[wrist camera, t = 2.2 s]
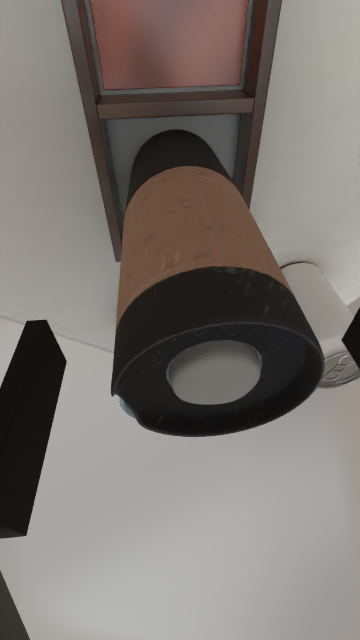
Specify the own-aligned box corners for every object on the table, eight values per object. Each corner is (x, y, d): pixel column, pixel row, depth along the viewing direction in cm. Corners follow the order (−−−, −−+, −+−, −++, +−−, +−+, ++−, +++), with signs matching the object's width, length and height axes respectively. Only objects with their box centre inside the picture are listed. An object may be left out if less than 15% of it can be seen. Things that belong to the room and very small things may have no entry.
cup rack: (117, 243, 28) (115, 262, 26) (28, -220, 12) (5, -268, 10) (235, 236, 29) (242, 253, 27) (294, -217, 13) (323, -262, 11)
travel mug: (239, 155, 23) (380, 355, 10) (192, 234, 28) (241, 446, 14) (151, 102, 20) (170, 279, 7) (115, 200, 25) (81, 426, 11)
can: (332, 264, 32) (398, 350, 24) (303, 307, 37) (350, 392, 28) (278, 256, 31) (328, 345, 22) (255, 302, 35) (289, 390, 27)
